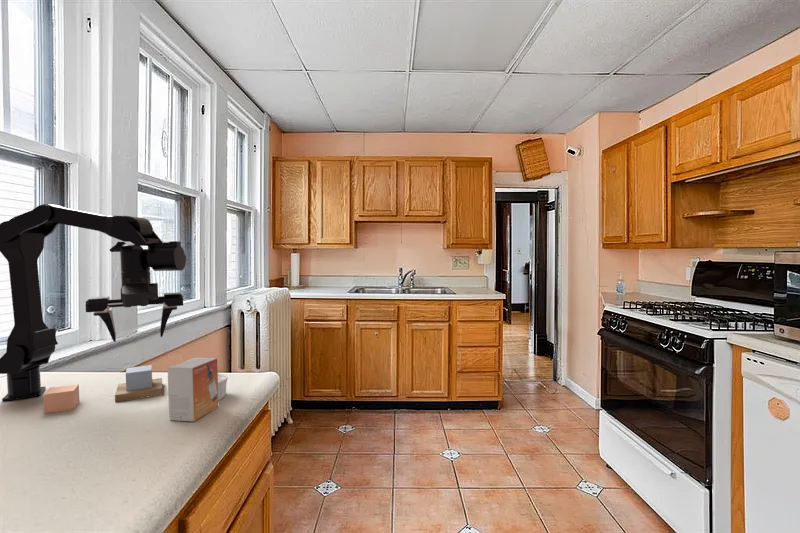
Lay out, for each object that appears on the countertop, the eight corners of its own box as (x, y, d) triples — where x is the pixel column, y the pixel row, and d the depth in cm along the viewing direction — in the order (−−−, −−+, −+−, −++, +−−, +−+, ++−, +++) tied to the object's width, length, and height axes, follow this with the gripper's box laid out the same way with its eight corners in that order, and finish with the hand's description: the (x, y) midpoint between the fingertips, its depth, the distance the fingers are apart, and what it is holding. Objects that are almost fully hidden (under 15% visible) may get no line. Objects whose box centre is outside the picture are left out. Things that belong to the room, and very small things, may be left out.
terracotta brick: (50, 406, 91) (49, 387, 91) (79, 401, 94) (78, 383, 93) (44, 413, 87) (43, 394, 87) (74, 409, 89) (73, 390, 89)
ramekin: (197, 408, 89) (196, 388, 89) (176, 399, 94) (176, 380, 94) (235, 396, 96) (235, 377, 96) (214, 388, 101) (214, 370, 101)
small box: (193, 422, 81) (191, 368, 81) (168, 420, 82) (166, 366, 82) (219, 407, 89) (218, 357, 89) (196, 405, 90) (194, 356, 90)
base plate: (118, 390, 101) (118, 384, 100) (162, 383, 105) (161, 377, 105) (115, 402, 93) (115, 395, 93) (162, 394, 97) (162, 388, 97)
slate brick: (127, 385, 100) (126, 368, 100) (152, 381, 102) (151, 365, 102) (126, 391, 95) (125, 373, 95) (152, 387, 98) (151, 370, 98)
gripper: (80, 275, 86) (83, 351, 87) (183, 271, 95) (185, 340, 96) (87, 272, 96) (90, 341, 96) (180, 269, 105) (183, 332, 106)
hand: (138, 338), depth 98 cm, fingers open, 9 cm apart
